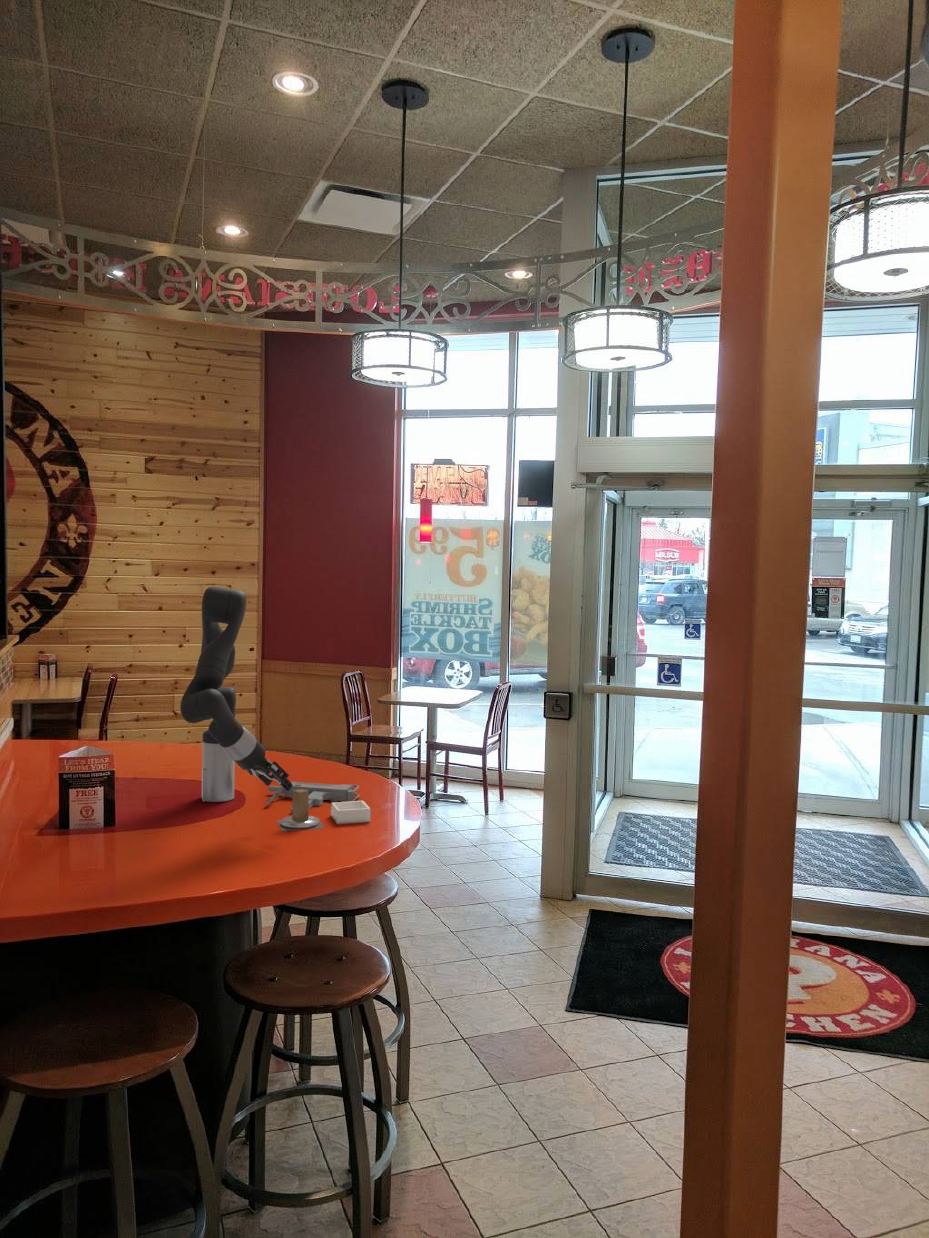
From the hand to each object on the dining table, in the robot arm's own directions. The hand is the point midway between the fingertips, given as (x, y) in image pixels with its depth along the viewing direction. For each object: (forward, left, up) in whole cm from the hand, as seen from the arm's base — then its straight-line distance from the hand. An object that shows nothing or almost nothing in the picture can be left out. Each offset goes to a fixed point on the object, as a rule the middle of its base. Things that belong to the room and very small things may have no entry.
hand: (279, 785), depth 234 cm
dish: (+20, +5, -12) cm, 24 cm away
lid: (+6, +3, -11) cm, 13 cm away
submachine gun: (+10, +26, -13) cm, 31 cm away
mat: (+6, +3, -12) cm, 14 cm away
